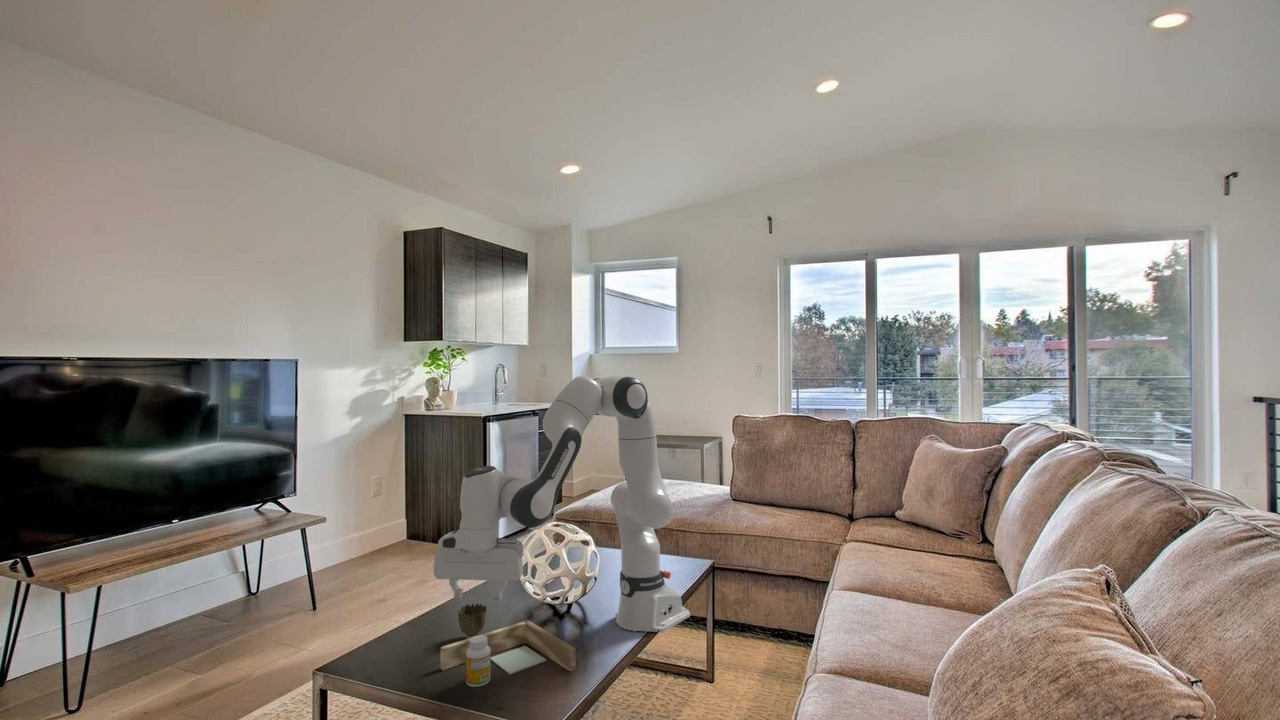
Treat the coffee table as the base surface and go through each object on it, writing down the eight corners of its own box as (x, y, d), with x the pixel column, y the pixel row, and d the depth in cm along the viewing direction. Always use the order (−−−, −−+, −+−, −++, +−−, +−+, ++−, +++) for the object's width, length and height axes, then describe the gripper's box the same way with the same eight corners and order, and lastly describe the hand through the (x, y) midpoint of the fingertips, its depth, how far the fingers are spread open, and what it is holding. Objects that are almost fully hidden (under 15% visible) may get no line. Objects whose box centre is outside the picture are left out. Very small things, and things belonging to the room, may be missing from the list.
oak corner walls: (527, 639, 157) (527, 620, 157) (575, 669, 141) (575, 648, 141) (440, 668, 141) (440, 647, 141) (482, 706, 125) (482, 682, 125)
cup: (478, 645, 153) (478, 614, 153) (452, 643, 154) (452, 612, 155) (491, 633, 160) (491, 604, 161) (466, 631, 162) (466, 602, 162)
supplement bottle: (468, 676, 137) (469, 634, 138) (492, 675, 138) (492, 633, 138) (463, 688, 132) (464, 644, 132) (488, 687, 133) (488, 643, 133)
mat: (525, 647, 152) (525, 645, 152) (546, 661, 145) (546, 659, 145) (489, 659, 146) (489, 657, 146) (509, 674, 138) (509, 672, 138)
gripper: (526, 535, 139) (526, 594, 138) (442, 533, 140) (441, 592, 139) (519, 542, 132) (518, 604, 132) (431, 540, 134) (430, 602, 133)
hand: (478, 598), depth 136 cm, fingers open, 8 cm apart
